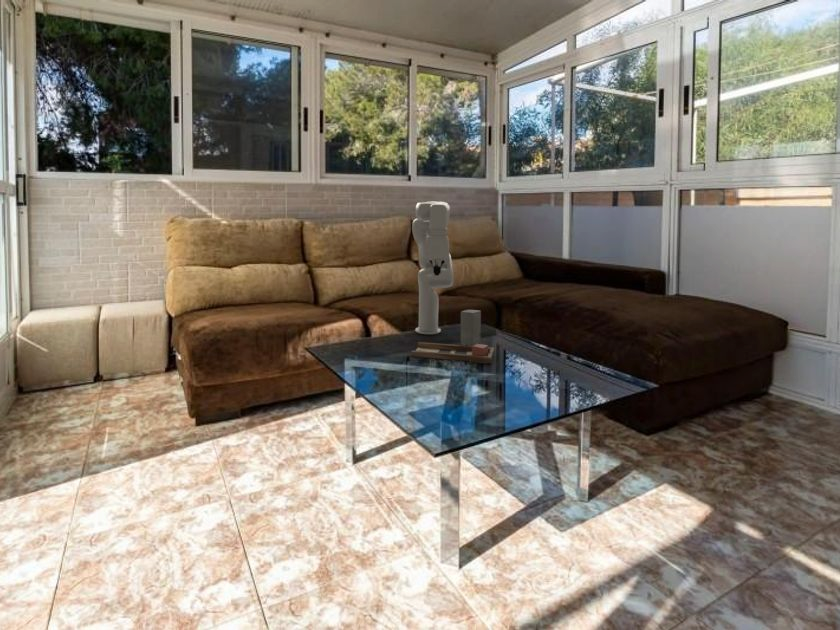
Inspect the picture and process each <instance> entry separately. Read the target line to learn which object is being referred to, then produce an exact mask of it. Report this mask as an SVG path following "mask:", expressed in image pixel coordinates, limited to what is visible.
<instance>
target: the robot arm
mask: <svg viewBox="0 0 840 630" xmlns="http://www.w3.org/2000/svg"><path fill="white" fill-rule="evenodd" d="M450 215H451V208H450V204H448V203H447V202H446V201H423V202H417V203H416V205H415V217H416V218H415V219H413V220H412V223H411V224H412V225H411V231H412V235H413V238H414V241H415V243H416V246H417V251H418V263H419V266H420V268H421V269H420V270H418V272H417V283H418V326H417V327H416V328H415V329H414V330H415V333H417V334H420V335H438V334H440V333H441V332H442V329H441V328H440V327H439V299H440V298H439V294H438V293H437V291H436V290H435V289H436V288H437V289H438V288H441V289H443V288H444V289H445V288H450V287H453V284H454V281H455V280H454V279H455V278H454V269H453V261H452V256H451V253H450V239H449V236H448V235H447V233H448V225H449V221H450Z"/></svg>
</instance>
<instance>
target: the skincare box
mask: <svg viewBox="0 0 840 630" xmlns="http://www.w3.org/2000/svg"><path fill="white" fill-rule="evenodd" d="M481 319H482V311H481V310H477V309H464V310H462V311H460V345H465V346H466V345H467V346H474V345H476V344H479V343H480V344H481V328H482V327H481V324H482V323H481V322H482V320H481Z"/></svg>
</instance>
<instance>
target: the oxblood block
mask: <svg viewBox="0 0 840 630" xmlns="http://www.w3.org/2000/svg"><path fill="white" fill-rule="evenodd" d="M488 347H489V345H488V344H483V343H480V344H476V345H474V346H472V355H478V356H488Z"/></svg>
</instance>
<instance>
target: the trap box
mask: <svg viewBox="0 0 840 630" xmlns="http://www.w3.org/2000/svg"><path fill="white" fill-rule="evenodd" d="M494 352H495V347H492V346H488V356H478V355H472V346H466V345H461V344H450V343H435V342H422V341H421V342H419V341H418V342H417V347H416V349H415V350H411V351H410V357H415V358H416V357H418V358H428V359H429V358H431V359H439V360H441V359H443V360H456V361H468V362H470V363H473V364H474V363H476V364H487V363H491V364H492V361H493V358H494V357H493V356H494V354H495V353H494ZM493 353H494V354H493ZM492 357H493V358H492Z"/></svg>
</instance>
